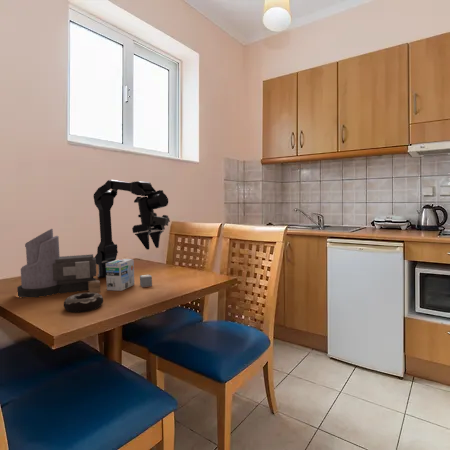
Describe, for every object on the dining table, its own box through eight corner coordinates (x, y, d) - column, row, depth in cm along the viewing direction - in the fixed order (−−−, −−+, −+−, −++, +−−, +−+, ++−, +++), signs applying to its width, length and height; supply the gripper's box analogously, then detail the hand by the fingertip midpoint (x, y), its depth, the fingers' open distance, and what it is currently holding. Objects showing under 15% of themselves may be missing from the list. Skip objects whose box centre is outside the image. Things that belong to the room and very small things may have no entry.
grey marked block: (140, 285, 131) (139, 275, 131) (150, 284, 133) (149, 274, 133) (142, 287, 128) (141, 277, 127) (152, 286, 129) (151, 276, 129)
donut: (95, 300, 112) (95, 289, 111) (109, 307, 103) (108, 295, 103) (59, 308, 104) (58, 295, 104) (70, 317, 95) (69, 303, 95)
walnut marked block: (88, 291, 123) (88, 280, 123) (99, 290, 125) (99, 279, 125) (89, 294, 120) (88, 283, 119) (100, 292, 121) (99, 281, 121)
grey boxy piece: (8, 300, 113) (4, 231, 112) (19, 289, 128) (15, 228, 127) (99, 290, 124) (96, 227, 122) (99, 281, 139) (97, 225, 137)
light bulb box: (121, 291, 122) (120, 263, 122) (106, 290, 124) (104, 263, 123) (135, 284, 133) (134, 258, 132) (120, 283, 134) (119, 258, 133)
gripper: (155, 206, 122) (162, 247, 121) (172, 208, 140) (178, 244, 140) (128, 212, 124) (135, 251, 123) (149, 213, 142) (155, 248, 142)
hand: (152, 248), depth 132 cm, fingers open, 9 cm apart
